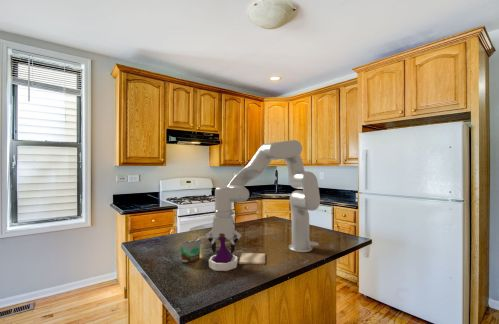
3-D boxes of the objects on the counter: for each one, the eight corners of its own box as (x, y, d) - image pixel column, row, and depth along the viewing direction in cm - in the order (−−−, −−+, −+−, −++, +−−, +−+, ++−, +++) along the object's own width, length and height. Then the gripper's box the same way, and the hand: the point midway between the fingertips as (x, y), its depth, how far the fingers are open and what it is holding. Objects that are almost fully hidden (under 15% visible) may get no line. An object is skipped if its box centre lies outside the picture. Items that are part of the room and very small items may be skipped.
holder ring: (238, 260, 123) (238, 254, 123) (235, 271, 110) (235, 264, 111) (212, 259, 124) (212, 253, 124) (206, 270, 111) (206, 263, 111)
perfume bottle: (228, 269, 113) (228, 228, 113) (212, 267, 114) (212, 227, 114) (233, 262, 120) (233, 224, 120) (218, 261, 122) (218, 223, 122)
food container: (189, 266, 115) (189, 244, 115) (179, 263, 119) (179, 242, 119) (207, 258, 126) (207, 237, 126) (198, 255, 129) (198, 235, 129)
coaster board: (265, 255, 130) (265, 253, 130) (264, 264, 118) (264, 262, 118) (241, 254, 131) (241, 252, 131) (239, 263, 119) (239, 262, 119)
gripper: (242, 212, 120) (243, 250, 120) (206, 212, 122) (206, 249, 122) (241, 215, 113) (241, 255, 113) (202, 215, 114) (202, 254, 114)
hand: (223, 252), depth 117 cm, fingers open, 7 cm apart
